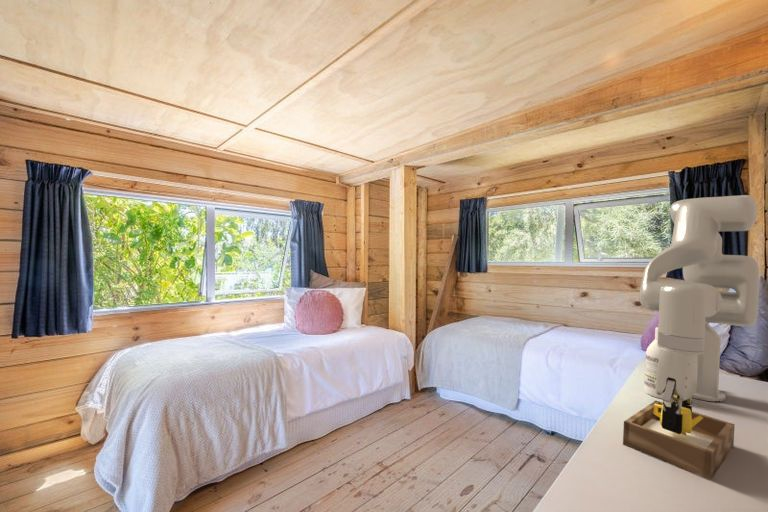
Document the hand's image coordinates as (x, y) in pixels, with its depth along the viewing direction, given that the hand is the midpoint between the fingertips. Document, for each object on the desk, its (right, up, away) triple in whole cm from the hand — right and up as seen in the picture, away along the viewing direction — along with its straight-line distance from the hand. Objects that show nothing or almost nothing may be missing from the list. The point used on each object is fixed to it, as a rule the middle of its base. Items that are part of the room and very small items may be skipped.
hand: (676, 425), depth 74 cm
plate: (0, -5, 0) cm, 5 cm away
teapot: (0, -1, 0) cm, 1 cm away
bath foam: (+19, -5, +29) cm, 35 cm away
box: (+1, -5, +1) cm, 5 cm away
